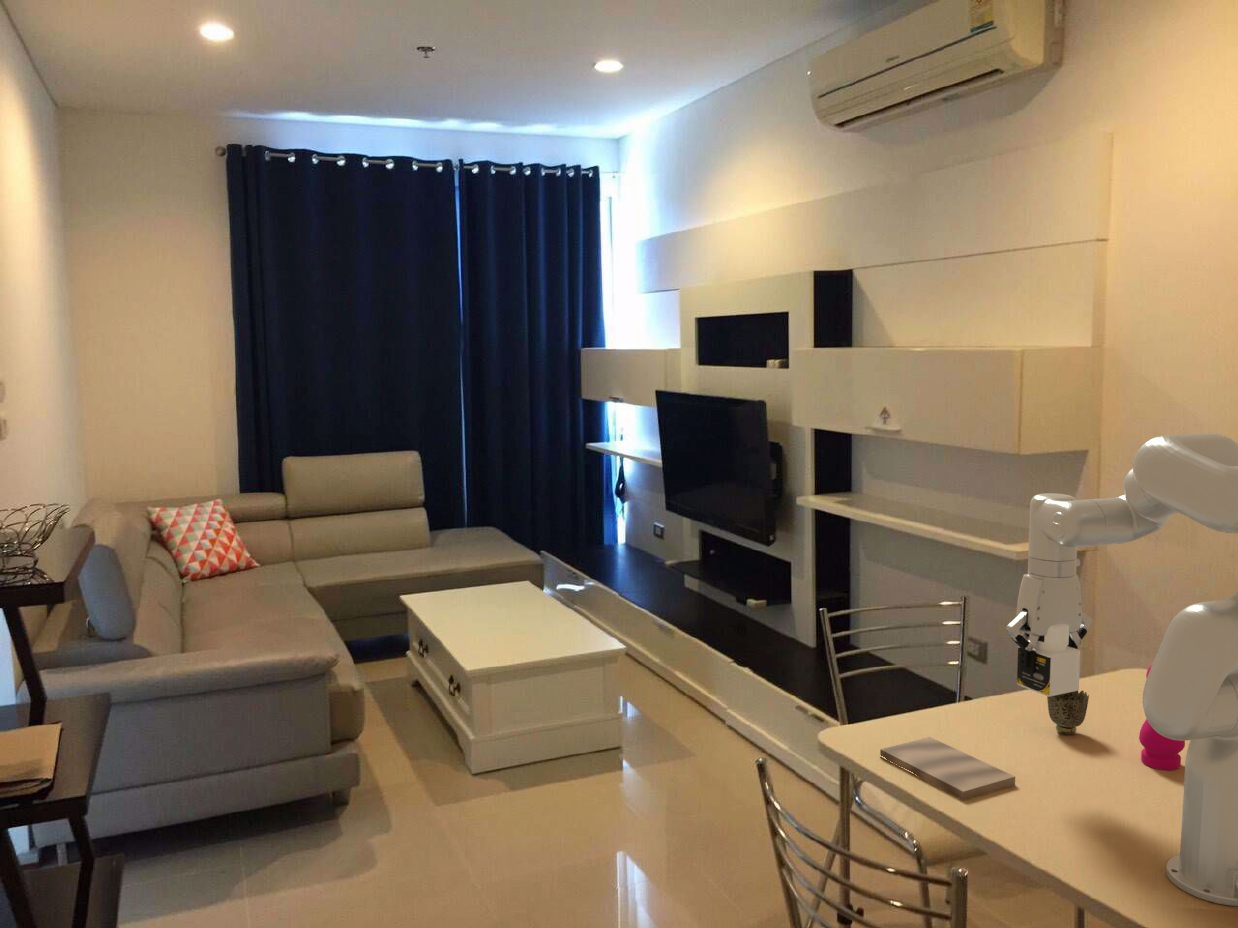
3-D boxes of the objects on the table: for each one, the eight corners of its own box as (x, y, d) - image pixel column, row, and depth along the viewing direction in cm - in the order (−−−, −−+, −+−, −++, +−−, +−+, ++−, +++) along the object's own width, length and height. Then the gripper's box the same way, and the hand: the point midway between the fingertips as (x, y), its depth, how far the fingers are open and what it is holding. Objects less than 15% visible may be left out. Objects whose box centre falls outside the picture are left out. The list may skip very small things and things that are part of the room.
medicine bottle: (1015, 684, 178) (1017, 616, 177) (1046, 678, 181) (1048, 611, 180) (1048, 697, 172) (1051, 627, 170) (1079, 690, 174) (1082, 621, 173)
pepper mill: (1189, 773, 180) (1196, 661, 177) (1144, 770, 181) (1150, 659, 179) (1176, 756, 187) (1182, 649, 185) (1132, 753, 188) (1138, 647, 186)
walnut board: (1015, 784, 176) (1015, 776, 176) (963, 800, 171) (963, 791, 170) (929, 744, 194) (929, 736, 193) (880, 757, 188) (880, 749, 188)
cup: (1062, 741, 194) (1064, 700, 193) (1036, 727, 201) (1038, 688, 200) (1095, 737, 196) (1097, 696, 195) (1069, 723, 203) (1071, 684, 202)
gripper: (1079, 559, 180) (1075, 657, 182) (993, 566, 175) (990, 667, 177) (1111, 568, 173) (1106, 670, 175) (1022, 576, 168) (1019, 681, 170)
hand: (1048, 668), depth 176 cm, fingers closed on medicine bottle, 7 cm apart
